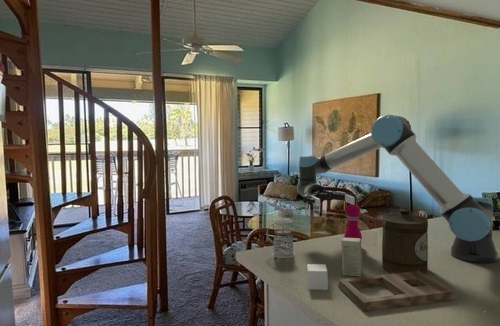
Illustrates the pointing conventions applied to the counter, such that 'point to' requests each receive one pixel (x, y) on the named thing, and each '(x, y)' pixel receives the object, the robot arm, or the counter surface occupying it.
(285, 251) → the french press
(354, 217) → the pepper mill
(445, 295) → the walnut plate
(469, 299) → the counter surface
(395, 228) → the wooden container
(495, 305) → the counter surface
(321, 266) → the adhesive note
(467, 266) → the counter surface
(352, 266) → the skincare box
